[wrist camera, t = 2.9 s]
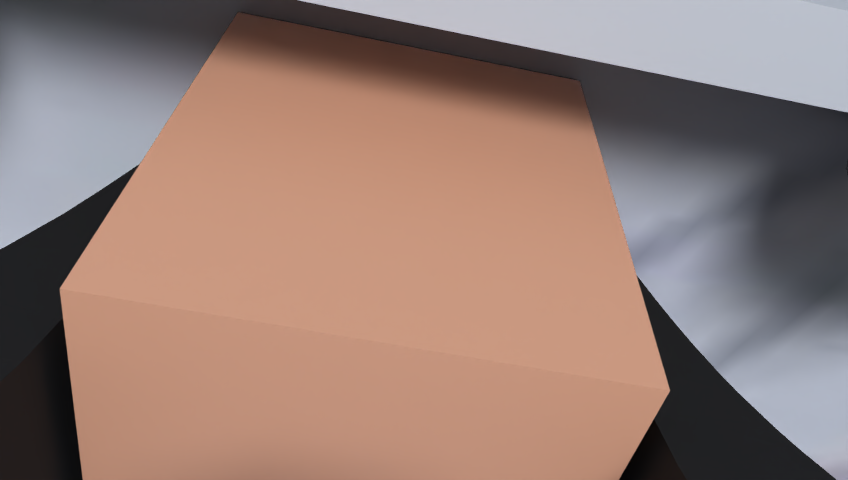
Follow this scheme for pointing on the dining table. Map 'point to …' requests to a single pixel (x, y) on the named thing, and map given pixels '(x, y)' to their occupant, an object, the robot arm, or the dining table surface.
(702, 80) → the chassis
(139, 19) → the dining table surface
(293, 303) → the light orange block
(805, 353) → the dining table surface
